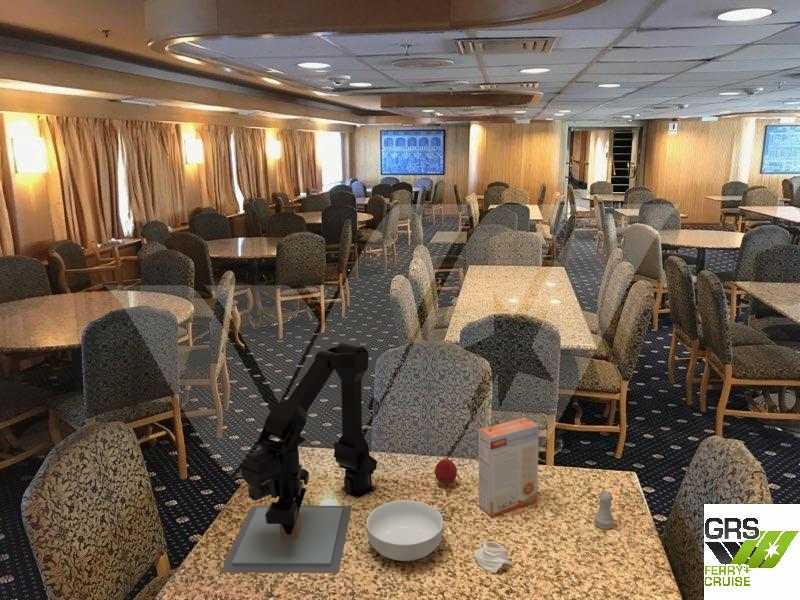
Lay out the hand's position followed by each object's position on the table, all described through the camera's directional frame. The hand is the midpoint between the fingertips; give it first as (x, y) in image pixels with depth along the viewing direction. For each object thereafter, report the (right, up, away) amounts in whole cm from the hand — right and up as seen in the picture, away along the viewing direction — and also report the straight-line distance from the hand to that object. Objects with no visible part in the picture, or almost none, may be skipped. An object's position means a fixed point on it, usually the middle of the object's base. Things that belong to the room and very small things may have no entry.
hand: (290, 528), depth 143 cm
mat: (0, -2, +1) cm, 2 cm away
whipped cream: (+45, -4, -9) cm, 46 cm away
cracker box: (+51, +1, +12) cm, 53 cm away
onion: (+37, +3, +22) cm, 43 cm away
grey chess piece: (+72, 0, +3) cm, 72 cm away
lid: (0, -2, +1) cm, 2 cm away
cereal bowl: (+26, -3, -4) cm, 27 cm away
